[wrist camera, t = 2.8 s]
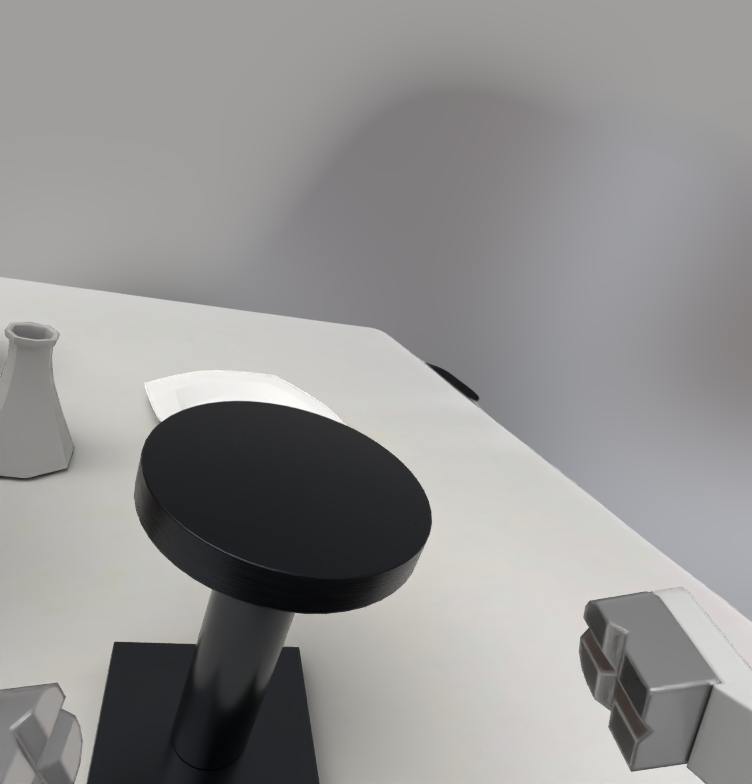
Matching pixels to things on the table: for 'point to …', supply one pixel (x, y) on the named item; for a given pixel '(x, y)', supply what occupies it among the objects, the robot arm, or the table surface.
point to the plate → (227, 392)
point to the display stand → (251, 587)
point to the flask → (31, 405)
